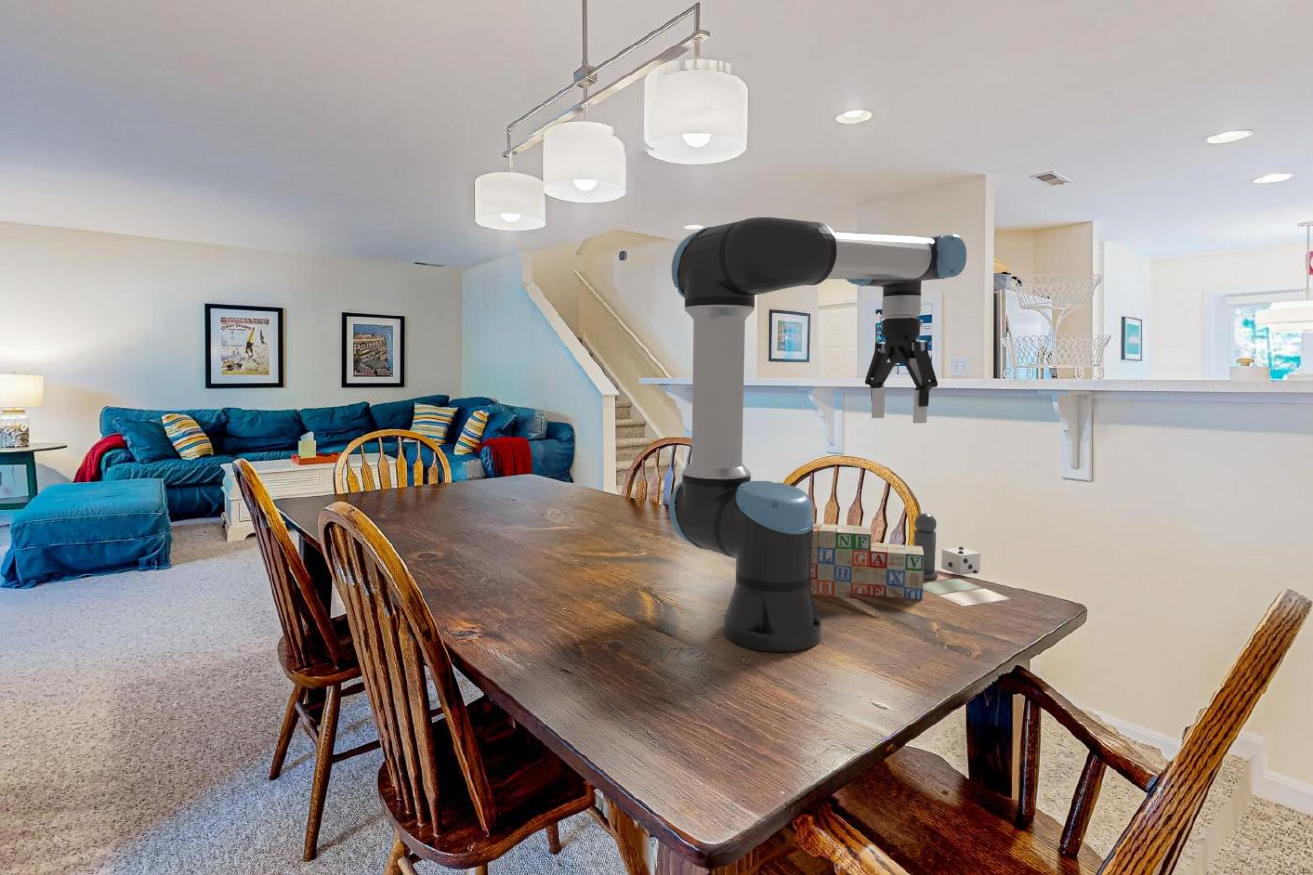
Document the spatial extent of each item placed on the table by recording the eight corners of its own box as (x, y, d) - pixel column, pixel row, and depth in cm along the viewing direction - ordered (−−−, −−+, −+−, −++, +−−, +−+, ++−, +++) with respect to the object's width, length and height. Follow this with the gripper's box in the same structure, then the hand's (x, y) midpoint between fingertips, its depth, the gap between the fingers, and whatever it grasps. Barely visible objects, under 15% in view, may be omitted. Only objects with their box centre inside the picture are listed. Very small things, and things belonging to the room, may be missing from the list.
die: (959, 581, 137) (960, 553, 136) (939, 573, 142) (940, 547, 142) (981, 578, 139) (982, 551, 138) (960, 570, 144) (961, 544, 144)
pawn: (921, 581, 133) (924, 517, 132) (903, 574, 138) (905, 511, 137) (943, 578, 135) (946, 515, 134) (924, 571, 140) (927, 509, 139)
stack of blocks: (921, 595, 129) (923, 529, 128) (922, 606, 123) (925, 538, 122) (803, 583, 136) (804, 521, 134) (799, 593, 130) (800, 528, 129)
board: (961, 612, 120) (961, 606, 119) (865, 570, 144) (866, 565, 144) (1014, 604, 124) (1014, 598, 124) (913, 564, 148) (913, 560, 148)
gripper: (959, 314, 134) (955, 424, 136) (878, 321, 157) (876, 415, 160) (927, 313, 132) (923, 426, 134) (850, 321, 155) (848, 416, 157)
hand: (897, 420), depth 147 cm, fingers open, 13 cm apart
